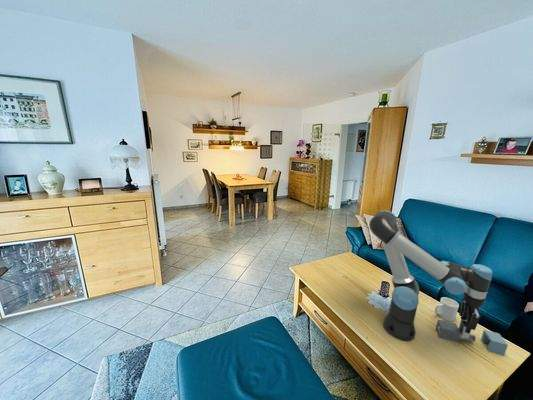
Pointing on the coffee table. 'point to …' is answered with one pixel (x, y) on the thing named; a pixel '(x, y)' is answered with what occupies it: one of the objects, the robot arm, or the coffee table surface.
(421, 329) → the coffee table surface
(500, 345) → the socket
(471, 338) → the grey piece
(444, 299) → the cup
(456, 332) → the grey metal block
